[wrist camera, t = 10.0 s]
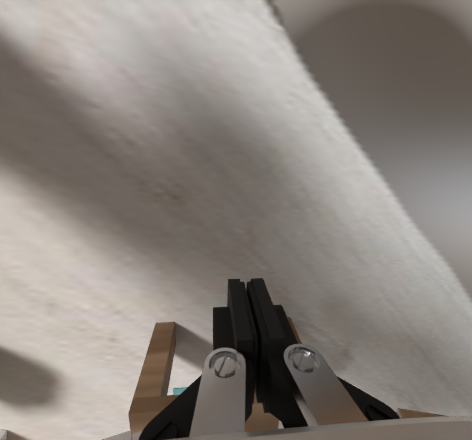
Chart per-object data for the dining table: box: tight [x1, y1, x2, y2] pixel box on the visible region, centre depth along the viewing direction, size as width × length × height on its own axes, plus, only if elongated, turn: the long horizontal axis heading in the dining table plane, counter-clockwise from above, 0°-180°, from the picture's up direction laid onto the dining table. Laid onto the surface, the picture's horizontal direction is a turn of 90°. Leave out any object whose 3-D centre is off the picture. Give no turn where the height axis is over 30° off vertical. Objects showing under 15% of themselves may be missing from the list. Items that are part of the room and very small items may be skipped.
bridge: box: [129, 318, 302, 434], centre depth 24 cm, size 3×15×10 cm, turn 88°
